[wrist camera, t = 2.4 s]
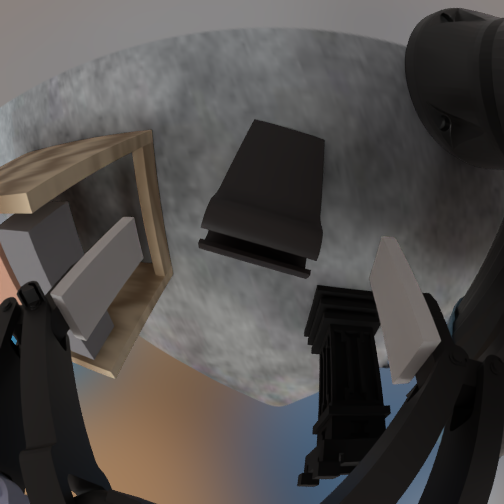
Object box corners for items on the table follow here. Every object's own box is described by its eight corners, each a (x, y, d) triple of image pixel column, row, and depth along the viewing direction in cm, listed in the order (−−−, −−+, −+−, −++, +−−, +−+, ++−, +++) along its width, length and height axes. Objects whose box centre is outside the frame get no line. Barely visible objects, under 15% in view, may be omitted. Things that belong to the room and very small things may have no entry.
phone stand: (255, 118, 21) (214, 148, 11) (324, 139, 21) (349, 189, 11) (232, 210, 26) (190, 296, 16) (292, 228, 26) (285, 324, 16)
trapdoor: (67, 201, 15) (28, 232, 12) (114, 326, 22) (94, 360, 18) (-25, 206, 17) (-48, 224, 14) (11, 290, 24) (-6, 311, 21)
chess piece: (362, 336, 33) (371, 483, 17) (304, 331, 34) (292, 486, 18) (383, 292, 29) (414, 466, 12) (317, 285, 29) (313, 475, 13)
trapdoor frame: (151, 129, 22) (26, 193, 10) (173, 273, 32) (115, 379, 19) (27, 152, 25) (-58, 204, 13) (57, 256, 34) (-2, 322, 22)
